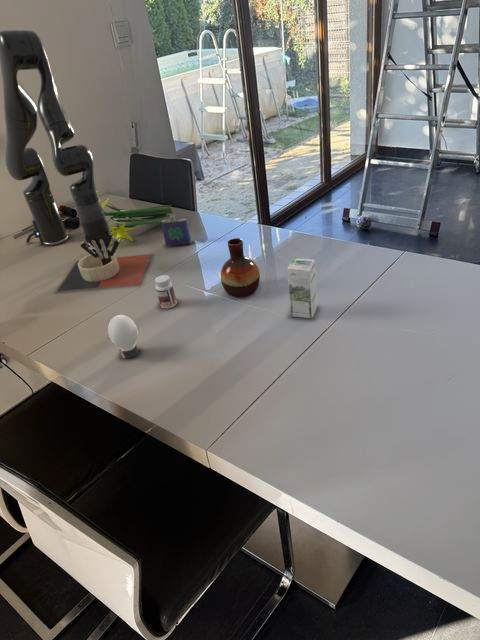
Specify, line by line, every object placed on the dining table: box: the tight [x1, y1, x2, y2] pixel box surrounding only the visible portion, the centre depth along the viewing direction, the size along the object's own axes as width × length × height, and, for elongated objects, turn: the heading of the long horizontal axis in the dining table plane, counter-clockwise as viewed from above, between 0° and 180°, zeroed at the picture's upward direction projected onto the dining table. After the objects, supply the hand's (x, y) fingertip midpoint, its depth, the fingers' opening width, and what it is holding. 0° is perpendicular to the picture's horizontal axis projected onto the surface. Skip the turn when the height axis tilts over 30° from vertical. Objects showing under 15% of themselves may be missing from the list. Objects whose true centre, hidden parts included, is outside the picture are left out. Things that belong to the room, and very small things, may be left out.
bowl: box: [77, 253, 119, 282], centre depth 154 cm, size 12×12×4 cm
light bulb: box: [107, 314, 139, 359], centre depth 115 cm, size 7×7×11 cm
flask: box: [160, 214, 193, 248], centre depth 164 cm, size 9×3×11 cm, turn 87°
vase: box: [219, 237, 261, 299], centre depth 132 cm, size 11×11×15 cm
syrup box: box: [286, 258, 318, 320], centre depth 120 cm, size 6×6×14 cm
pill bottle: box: [154, 274, 178, 309], centre depth 133 cm, size 5×5×8 cm
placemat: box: [57, 254, 152, 292], centre depth 155 cm, size 26×20×1 cm
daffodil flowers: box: [97, 192, 173, 245], centre depth 173 cm, size 17×15×35 cm
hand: (109, 267), depth 154 cm, fingers closed
